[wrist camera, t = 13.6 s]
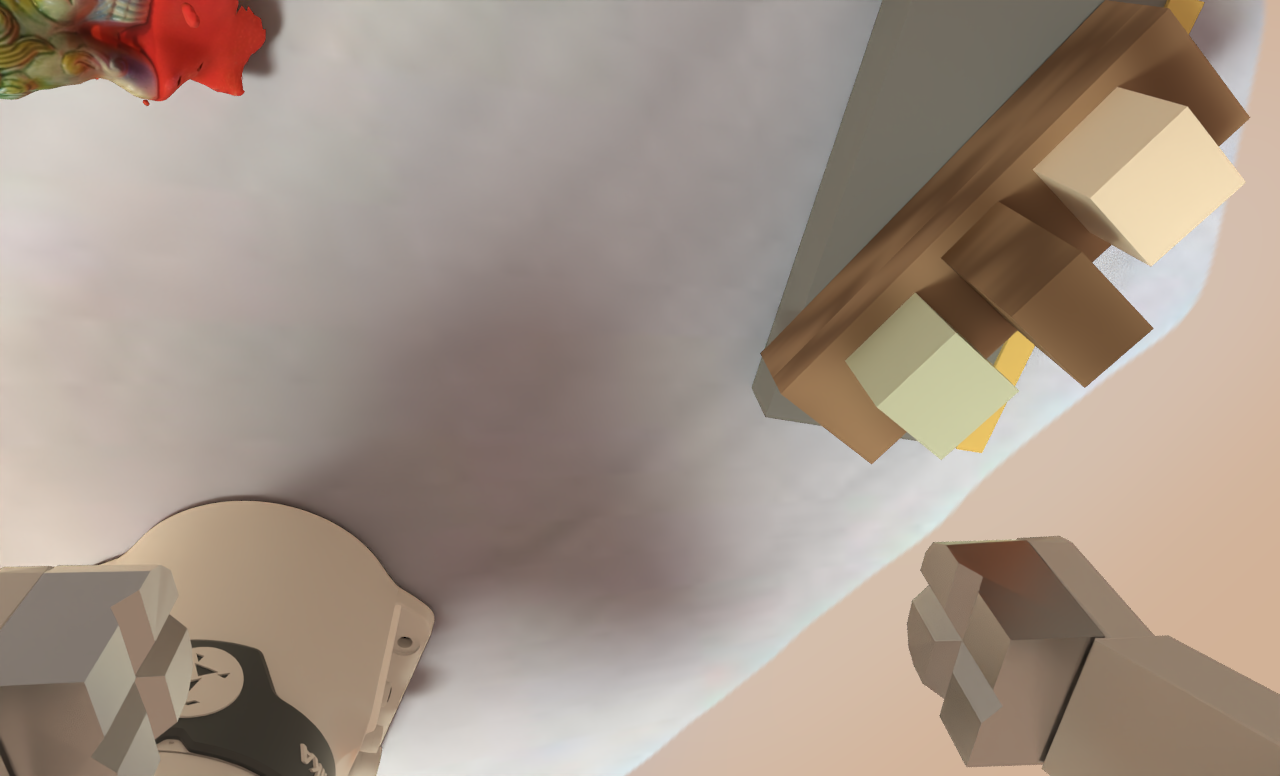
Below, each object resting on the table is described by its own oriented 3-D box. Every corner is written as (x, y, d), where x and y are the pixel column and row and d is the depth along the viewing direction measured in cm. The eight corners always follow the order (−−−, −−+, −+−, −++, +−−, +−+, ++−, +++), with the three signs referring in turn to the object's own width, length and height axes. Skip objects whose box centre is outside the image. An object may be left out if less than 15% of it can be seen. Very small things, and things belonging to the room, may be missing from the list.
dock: (955, 421, 47) (982, 452, 44) (751, 388, 45) (766, 418, 42) (1154, -4, 37) (1204, 2, 35) (908, -78, 35) (941, -77, 32)
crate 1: (904, 410, 38) (941, 460, 34) (844, 361, 36) (876, 407, 33) (974, 346, 37) (1019, 391, 33) (915, 292, 35) (956, 332, 32)
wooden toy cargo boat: (844, 420, 43) (922, 547, 34) (760, 353, 40) (819, 471, 32) (1182, 99, 36) (1383, 153, 28) (1105, 0, 34) (1297, 24, 25)
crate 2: (1090, 232, 35) (1151, 266, 31) (1032, 169, 33) (1090, 198, 30) (1172, 155, 33) (1246, 182, 30) (1117, 86, 32) (1187, 106, 28)
